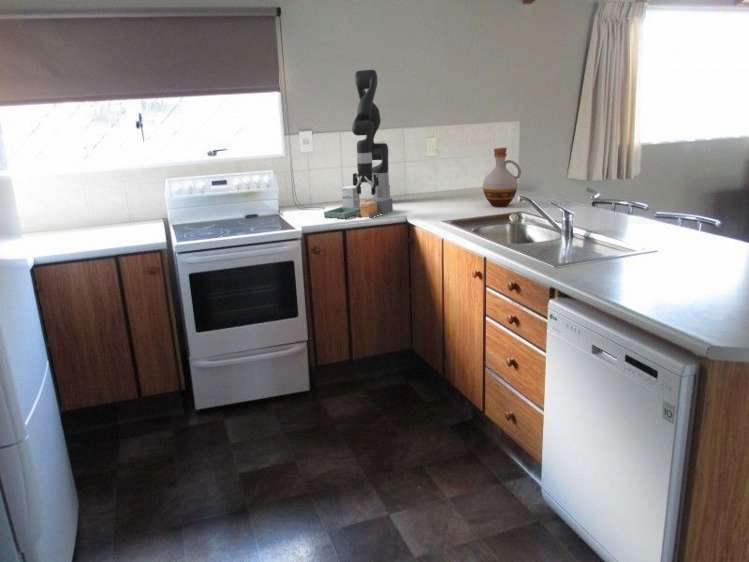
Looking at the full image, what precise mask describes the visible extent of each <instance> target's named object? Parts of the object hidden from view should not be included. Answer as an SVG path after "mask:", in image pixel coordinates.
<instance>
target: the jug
mask: <svg viewBox="0 0 749 562" xmlns="http://www.w3.org/2000/svg"><path fill="white" fill-rule="evenodd" d="M507 149H508V147H496V148H493V151H494V153H493V156H494V159H495V167H494V168H493V169H492V171H490V172H489V173H488V174H487V175H486V176H485V177H484V179H483V182H482V190H483V195H484V196H485V199H486V200H487V201H488V203H489V204H490V205H491V206H492V207H494V208H504V207H508V206H509V205H510V203H511V202H512V201H513V200H514V198H515V196H516V193H517V191H518V180H517V179H520V177H521V175H522V169H521V167H520V165H519V164H518V163H517V162H516V161H514V160H511V159H507V160H506V157H507V155H508V153H507ZM509 163H510V164H512V165H514V166H515V167H516V169H517V175H514V174H512V173H511V172H510V171H509V170H508V169H507V164H509Z"/></svg>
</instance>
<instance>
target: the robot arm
mask: <svg viewBox="0 0 749 562" xmlns="http://www.w3.org/2000/svg"><path fill="white" fill-rule="evenodd" d="M354 80H355V82H354V83H355V86H356V90H357V94H358V98H359V102H358V104H357V112H356V116H355V118H354V120H353V122H352V127H351V132H352V134H353V135H354V136H359V137H361V136H365V138H364V139H361V140H358V141H357V142H356V153H357V154H356V163H357V164H356V165H357V172H355V173H352V186H356V187H357V193H358V194H359V195H361V194H362V187H361V185H362V183H365V184H366V183H368V184H369V185H370V187H371V188H370V190H371V193H370V194H371V195H372V198H376V197H380V198H391V186H390V179H389V178H390V176H389V175H390V174H389V172H390V171H389V146H388V144H387V142H376V143H375V142H374V141H375V139H374V138H375V135H376V134H377V132H378V130H379V127H380V125H381V122H382V121H381V120H382V119H381V113H380V109H379V108H378V106H377V105H376V104H375V103H374V99H375V96H376V95H375V94H376V92H377V88H378V75H377V71H376V70H375V69H362V70H357V71H356V72H355V73H354ZM366 90H367V91H366ZM373 161H381V163H379V164H378V165H376V166H373Z"/></svg>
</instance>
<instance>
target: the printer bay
mask: <svg viewBox="0 0 749 562" xmlns="http://www.w3.org/2000/svg"><path fill="white" fill-rule="evenodd" d="M368 201H374V202H377V211H378V212H375V213H372V214H369V218H371V219H373V218H372V217H374V216H377V215H380V214H384V215H386V214H385V213H387V214H389V213H388V212H390V213H392V212H391V211H393V209H394V208H393V207H394V206H393V197H392V198H391V197H390V198H380V197H376V198H373V197H372V198H370V199H366V200H365V202H368ZM360 216H361V212H360V213H357V214H356V216H355V217H356V218H357V217H359V218H361V217H360ZM380 216H381V215H380ZM377 217H378V216H377ZM369 218H368V219H369ZM374 218H375V217H374Z"/></svg>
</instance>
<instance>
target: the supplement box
mask: <svg viewBox="0 0 749 562" xmlns="http://www.w3.org/2000/svg"><path fill="white" fill-rule="evenodd" d="M360 197H361V196H360V194H358V193H357V187H356V186H355V185H346V186H343V187H341V207H350V208H360V204H361V200H360V199H361V198H360Z"/></svg>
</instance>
